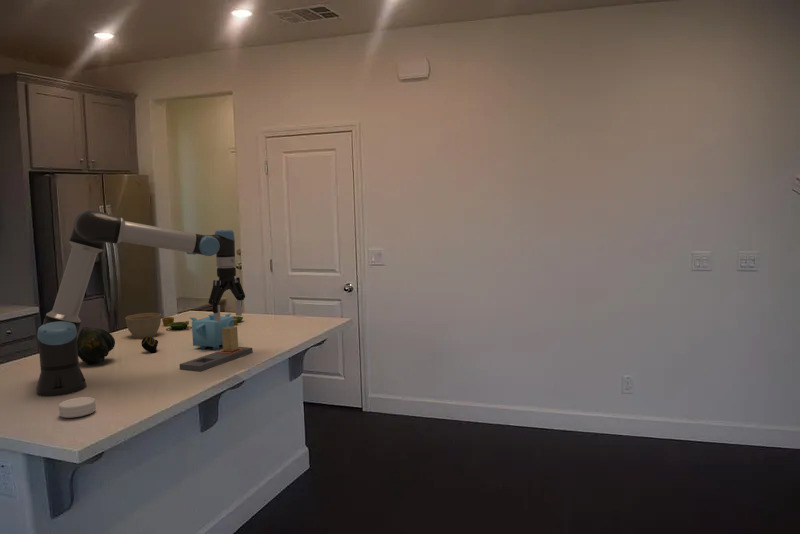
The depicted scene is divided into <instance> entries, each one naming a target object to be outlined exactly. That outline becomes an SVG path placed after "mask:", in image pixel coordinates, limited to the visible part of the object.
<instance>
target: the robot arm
mask: <svg viewBox="0 0 800 534" xmlns="http://www.w3.org/2000/svg"><path fill="white" fill-rule="evenodd" d="M68 242H69V244H70V245H71V250H70V253H69V257H68V259H67V261H66V262H67V263H66V266H65V268H64V269H65V270H64V272H63V275H62V278H61V282H60V285H59V287H58V292H57V295H56V298H55V301H54V304H53V307H52V309H51V310H50V311H49V312H47V313H46V314H45V315H44V316H45V317H44V319H43V323H42V324H41V326H39V327H38V329H37V335H36V337H37V341H38V354H39V365H40V374H39V377H38V381H37V386H36V388H35V389H36V390H35V391H36V395H38V396H39V397H59V396H67V395H70V394H71V395H72V394H74V393H77V392H81V391H83V390H85V389H86V388H87V381H86V379H85V377H84V375H83V372H82V369H81V368H80V362H79V361H80V358H79V356H78V346H77V340H78V334H79V329H80V325H81V323H82V320H81V319H80V317H79V315H80V311H81V308H82V304H83V301H84V298H85V294H86V292H87V289H88V285H89V282H90V279H91V275H92V272H93V269H94V266H95V262H96V259H97V257H98V254H99V253H102V252H103V251H104V248H105V247H106V246H105V245H106V244H108V243H109V244H116V245H117V244H119V243H121V242H122V243H127V244H134V245H139V246H140V245H141V246H147V247H151V248H159V249H165V250H171V251H178V252H182V253H186V254H187V255H202V256H204V257H205V256H206V257H213V256H215V257H216V267H217V269H216V276H217V278H218V280H213V282H212V289H211V292H210V295H209V299H208V305H210V306H212V313H213V314H214V321H221V320H220V316H221V305H220V304H219V303H220V302H221V299H222V297H223V295H224V293H225V292H226V291H228V290H230V291H231V293H232V294H233V296H234V298H235V300H234V303H235V304H234V305H235V306H234V308H235V316H240V317H243V309H242V308H243V301H244V300H245V298H246V294H245V292H244V290H243V286H242V283H241V279H240V276H239V277H238V276H237V270H236V269H237V268H236V249H235V248H236V245H235V243H236V240H235V232H234V230H232V229H216V230H215V232H214V234H211V235H210V234H198V233H193V232H187V231H182V230H176V229H172V228H165V227H160V226H155V225H149V224H144V223H140V222H138V223H137V222H132V221H128V220H125V219H124V218H123V217H121V216H115V215H111V214H108V213H105V212H103V211H100V210H95V209H90V210H89V209H88V210H85V211H84V210H83V211H82V212H80V213H79V214H78V215H77V216H76V217H75V219H74V222H73V227H72V232H71V235H70V238H69V240H68ZM236 276H237V277H236Z"/></svg>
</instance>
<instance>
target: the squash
mask: <svg viewBox="0 0 800 534" xmlns="http://www.w3.org/2000/svg"><path fill="white" fill-rule="evenodd" d="M115 344H116V340H115V338H114V336H113V335H112V334H111V333H110V332H109V331H107V330H105V329H103V328H97V327H96V328H95V327H88V326H87V327H86V326H84V327H82V328H81V330H80V331H79V332H78V335H77V346H78V359H79V360H81V361H82V362H83V363H86V364H89V365H92V364H96V363H101V362H103V361H104V360H105V358H107V357H108V355H109V353H110V352H111V351H112V350H113V349H114V348H115V346H116V345H115Z"/></svg>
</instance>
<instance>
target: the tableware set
mask: <svg viewBox="0 0 800 534" xmlns="http://www.w3.org/2000/svg"><path fill="white" fill-rule="evenodd" d="M232 317H233V319H237V320H235V321H234V327H236V326H237V324H238V323H239V322H240V323H241V322H242V320H243V319H244V317H243V316H236V315H235V316H232ZM161 321H162V325H163V327H165V331H167V332H171V330H170V329H172V331H178V332H183V331H188V330H192V326H190V325H189V324H190V323H189V320H186V321H175V317H172V316H167V317H161ZM174 321H175V322H174ZM235 325H236V326H235ZM166 327H167V328H166Z"/></svg>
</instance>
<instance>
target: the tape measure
mask: <svg viewBox="0 0 800 534" xmlns="http://www.w3.org/2000/svg"><path fill="white" fill-rule="evenodd" d="M140 343H141V347H142V348H143V349H144V350H145V351H146V352H149V353H151V354H155V353H156V352H157V349H158V344H159V340H158V339H155V338H154V337H149V336H148V337H145V338H142V340H141V341H140Z"/></svg>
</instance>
